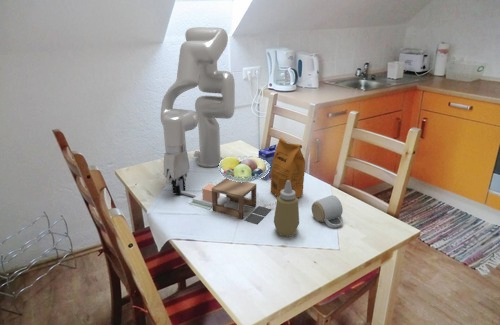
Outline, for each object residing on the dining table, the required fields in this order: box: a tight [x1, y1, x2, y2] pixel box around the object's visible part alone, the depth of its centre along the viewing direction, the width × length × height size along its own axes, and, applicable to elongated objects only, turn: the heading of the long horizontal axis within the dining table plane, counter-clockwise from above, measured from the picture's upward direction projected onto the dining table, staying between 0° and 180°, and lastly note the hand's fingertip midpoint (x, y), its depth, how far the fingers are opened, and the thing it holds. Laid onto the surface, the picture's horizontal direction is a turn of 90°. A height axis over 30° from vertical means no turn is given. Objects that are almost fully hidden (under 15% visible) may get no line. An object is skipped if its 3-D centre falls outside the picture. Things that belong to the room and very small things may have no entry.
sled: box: [174, 178, 231, 208], centre depth 132 cm, size 22×7×6 cm, turn 62°
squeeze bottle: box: [273, 180, 300, 237], centre depth 110 cm, size 8×8×18 cm
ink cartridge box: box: [258, 143, 278, 181], centre depth 151 cm, size 10×6×14 cm, turn 130°
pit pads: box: [243, 205, 272, 225], centre depth 123 cm, size 5×11×1 cm, turn 152°
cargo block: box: [201, 183, 221, 202], centre depth 130 cm, size 4×4×4 cm
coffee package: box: [270, 137, 306, 198], centre depth 133 cm, size 10×12×22 cm
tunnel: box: [212, 177, 257, 220], centre depth 125 cm, size 12×10×9 cm
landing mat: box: [188, 200, 213, 210], centre depth 132 cm, size 9×10×1 cm
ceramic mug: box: [311, 194, 343, 229], centre depth 118 cm, size 11×8×8 cm
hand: (179, 191), depth 138 cm, fingers closed on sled, 2 cm apart
